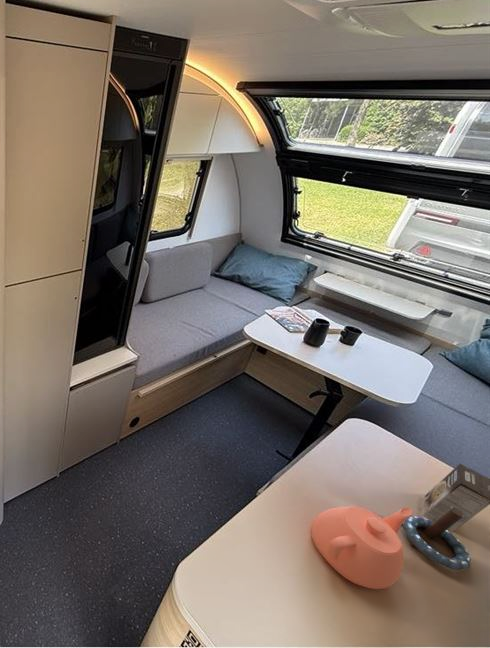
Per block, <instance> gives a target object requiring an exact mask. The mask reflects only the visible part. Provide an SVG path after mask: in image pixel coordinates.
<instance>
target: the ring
mask: <svg viewBox="0 0 490 648" xmlns="http://www.w3.org/2000/svg"><path fill="white" fill-rule="evenodd" d="M433 522H434V521H433V520H431V519H429V518H427V517H423V516H419V515H417V516H412V517H408V518H407V519H406V520H405V521H404V522H403V526H402V528H403V530H405V531H404V532H406V533H405V535H406V537H407V539H409V540H410V541H411V542H412V543H413V544H414V545H415V546H416V547H417V548H416V549H417V550H418V551H419V552H420V553H422V554H423V555H424V556H426V557H427V558H429V559H430V560H432V561H433V562H434V563H436V564H438V565H440V566H442V567H445V568H447V569H450V570H452V571H464V570H468V569H470V566H471V563H472V557H471V555H470V553H469V552H468V550H467V548H466V545H464V544H463V543H462V542H461V540H459V539H458V538H457V537H456V536H455V535H454V534H453V532H452V531H450V530H448V529H447V530H446V531H445V532H444V533H442V534H441V535H440V537H442V538H443V539H444V540H445V541H446V542H447V543H448V544H449V545H450V546H451V547H452V548H453V550H454V552H455V554H456V556H455V558H449V557H447V556H444V555H442V554H440V553H438V552H437V551H436V550H434V549H433V548H431V547H430V546H428V545H427V543H426V542H425V541H424V540H423V539H422V538H421V537H420V536H419V534H418V532H417V530H416V529H417V527H424V528H427V527H428V526H429V525H431V524H432V523H433ZM409 540H408V541H409Z"/></svg>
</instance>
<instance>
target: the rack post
mask: <svg viewBox="0 0 490 648" xmlns="http://www.w3.org/2000/svg"><path fill="white" fill-rule="evenodd" d="M409 517H413V516H412V515H411V516H409ZM463 517H464V514H463V513H462V512H461V511H460V510H459V509H457V508H454V507H451V508H450V509H449V510H447V511H446V512H445V513H444V514H443V515H441V516H440V517H439V518H438V519H437V520H435V521H433V523H432V524H431V525H429V526H428V527H427V528H424V527H417V529H416V530H417V532H418V534H419V536H420V537H421V538H422V539H423V540H424V541H425V542H426V543H427V545H428V546H430V547H431V548H433V549H434V550H436V551H437V552H438V553H440V554H442V555H444V556H447V557H449V558H455V556H456V554H455V552H454V550H453V548H452V547H451V546H450V545H449V544H448V543H447V542H446V541H445V540H444V539H443V538H442V537H440V535H441V534H442V533H444V532H445V531H446V530H448V529H449V528H450V527H451V526H452V525H454V524H455V523H456V522H458V521H459V520H460V519H461V518H463ZM401 527H403V524H402V525H401ZM403 530H404V529H403ZM403 532H405V530H404V531H403ZM405 534H406V532H405ZM407 539H408V538H407ZM408 542H409V544H410V546H411V547H412V548H415V549H418V548H417V547H416V546H415V545H414V544H413V543H412V542H411V541H410V540H409V539H408Z"/></svg>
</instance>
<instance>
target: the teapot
mask: <svg viewBox="0 0 490 648" xmlns="http://www.w3.org/2000/svg"><path fill="white" fill-rule="evenodd" d="M412 515H413V510H412V509H411V508H409V507H404V508H401V509H399V510H397V511H396V512H394V513H393V514H391V515H388V516H385V517H383V518H381V517H380V516H378V515H377V514H376V513H374V512H373V511H371V510H369V509H367V508H365V507H360V506H339V507H332V508H329V509H326V510H324V511H322V512H320V513H319V514H317V515H316V516H315V517H314V518H313V519H312V521H311V523H310V524H311V525H310V534H311V538H312V540H313V543H314V545H315V547H316V549H317V550H318V552H319V553H320V555H321V556H322V558H324V560H325V561H326V562H327V563H328V564H329V565H330V566H331V567H332V568H333V569H334V570H335V571H336V572H337V573H338V574H340V575H341V576H342V577H343V578H345V579H346V580H348V581H349V582H352V583H353V584H356V585H358V586H361V587H365V588H367V589H371V590H372V589H374V590H380V589H381V590H383V589H387V588H389V587H391V586H392V585H394V584H395V583H396V581H398V578H399V577H400V576H401V573H402V571H403V566H404V549H403V543H402V540H401V538H400V537H399V535H398V533H399V531H400V528H401V527H402V524H403V523H404V521H405V520H406V519H407V518H408V517H409V516H412Z"/></svg>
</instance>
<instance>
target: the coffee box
mask: <svg viewBox="0 0 490 648" xmlns="http://www.w3.org/2000/svg"><path fill="white" fill-rule="evenodd" d="M489 505H490V477H487V476H486V475H484V474H482V473H480V472H478V471H476V470H474V469H472V468H471V467H469V466H466V465H464V464H462V463H458V465H456V466H455V467H454V468H453V469H452V470H451V471H450V472H449V473H448V474H446V476H444V478H442V479H441V480H440V481H439V482H438V483H437V484H436V485H434V486H433V487H432V488H431V490H429V491H428V492H427V493H426V494H425V495H424V499H423V508H422V509H423V510H422V515H423V516H425V518H427V519H429V520H431V521H433V522H434V521H435V520H437V519H438V518H439V517H440V516H441V515H443V514H444V513H445V512H446V511H447V510H449V509H450V508H451V507H454V508H457V509H459V510H460V511H461V512H462V513H463V514H464V517H463V518H461V519H460V520H459V521H458V522H456V523H455V524H454V525H452V526H451V527H450V528H449V529H447V530H448V531H449V532H451V533H453V532H455V531H456V530H458V529H459V528H460V527H462V526H463V525H464V524H466V523H467V522H468V521H469V520H471V519H472V518H474V517H475V516H476V515H478V514H479V513H480V512H482V511H483V510H484V509H486V508H487V507H488V506H489Z"/></svg>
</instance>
